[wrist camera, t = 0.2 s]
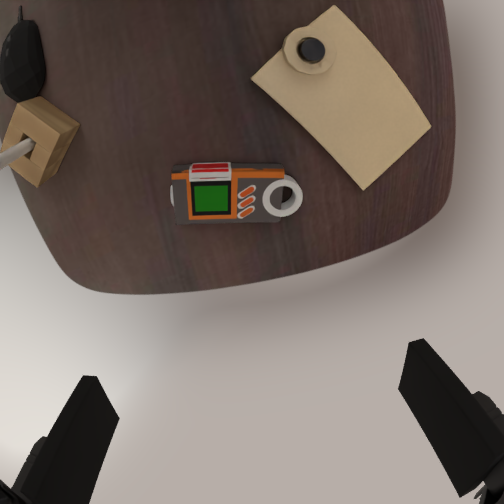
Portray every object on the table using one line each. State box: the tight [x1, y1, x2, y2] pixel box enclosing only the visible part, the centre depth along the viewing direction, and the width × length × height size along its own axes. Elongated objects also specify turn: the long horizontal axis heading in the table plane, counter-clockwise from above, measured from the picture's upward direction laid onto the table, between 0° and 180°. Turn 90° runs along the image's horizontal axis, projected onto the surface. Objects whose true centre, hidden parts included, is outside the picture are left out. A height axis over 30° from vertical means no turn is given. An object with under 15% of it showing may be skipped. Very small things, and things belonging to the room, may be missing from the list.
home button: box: [299, 39, 325, 61], centre depth 23 cm, size 2×2×1 cm
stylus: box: [0, 137, 36, 170], centre depth 21 cm, size 2×2×16 cm
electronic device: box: [170, 162, 303, 225], centre depth 33 cm, size 7×3×15 cm
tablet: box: [250, 5, 431, 191], centre depth 27 cm, size 13×20×2 cm, turn 48°
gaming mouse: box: [0, 6, 45, 103], centre depth 18 cm, size 6×15×4 cm, turn 8°
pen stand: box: [0, 96, 80, 188], centre depth 25 cm, size 8×8×5 cm
